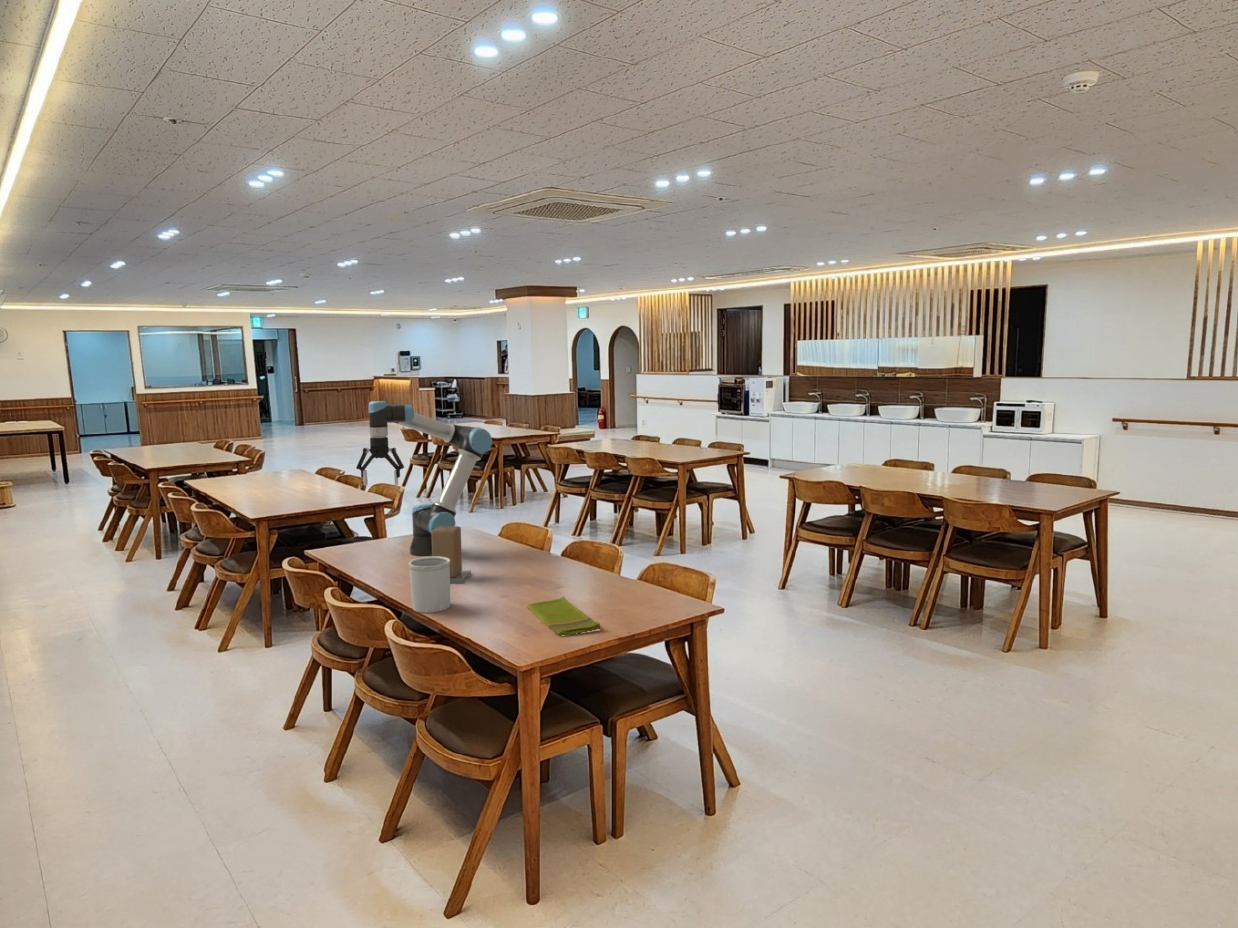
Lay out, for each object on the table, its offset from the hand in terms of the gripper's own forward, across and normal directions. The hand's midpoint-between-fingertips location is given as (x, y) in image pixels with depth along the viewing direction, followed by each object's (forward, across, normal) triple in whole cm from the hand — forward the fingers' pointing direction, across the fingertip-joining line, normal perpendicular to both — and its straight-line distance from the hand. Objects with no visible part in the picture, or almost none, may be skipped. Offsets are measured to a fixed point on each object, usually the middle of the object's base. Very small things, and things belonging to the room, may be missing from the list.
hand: (381, 485), depth 346 cm
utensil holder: (+37, +35, -60) cm, 78 cm away
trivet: (+36, +32, -20) cm, 53 cm away
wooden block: (+35, +32, -20) cm, 52 cm away
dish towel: (+37, +85, -72) cm, 118 cm away
